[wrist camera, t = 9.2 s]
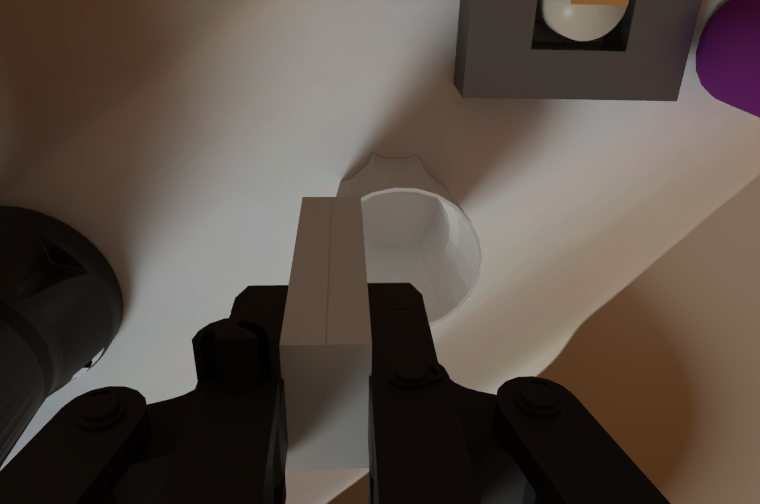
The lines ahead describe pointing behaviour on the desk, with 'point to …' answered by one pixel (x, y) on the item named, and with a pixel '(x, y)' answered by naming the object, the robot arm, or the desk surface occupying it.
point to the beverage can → (732, 55)
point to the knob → (580, 17)
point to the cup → (415, 233)
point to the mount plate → (573, 53)
